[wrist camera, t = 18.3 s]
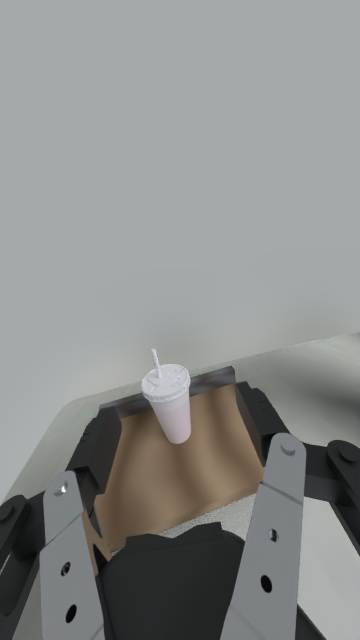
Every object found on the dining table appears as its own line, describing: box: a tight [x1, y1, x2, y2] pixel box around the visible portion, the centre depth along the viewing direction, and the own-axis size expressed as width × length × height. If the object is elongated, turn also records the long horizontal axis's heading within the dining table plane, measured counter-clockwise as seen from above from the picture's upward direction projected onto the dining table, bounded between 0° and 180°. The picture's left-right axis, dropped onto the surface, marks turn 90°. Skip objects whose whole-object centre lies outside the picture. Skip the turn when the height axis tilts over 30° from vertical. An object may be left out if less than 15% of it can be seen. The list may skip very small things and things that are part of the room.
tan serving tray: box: [94, 366, 265, 553], centre depth 26 cm, size 24×16×4 cm
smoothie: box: [141, 348, 191, 444], centre depth 24 cm, size 6×6×14 cm
